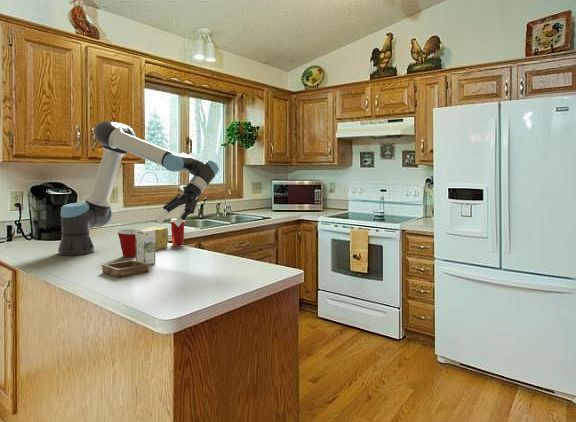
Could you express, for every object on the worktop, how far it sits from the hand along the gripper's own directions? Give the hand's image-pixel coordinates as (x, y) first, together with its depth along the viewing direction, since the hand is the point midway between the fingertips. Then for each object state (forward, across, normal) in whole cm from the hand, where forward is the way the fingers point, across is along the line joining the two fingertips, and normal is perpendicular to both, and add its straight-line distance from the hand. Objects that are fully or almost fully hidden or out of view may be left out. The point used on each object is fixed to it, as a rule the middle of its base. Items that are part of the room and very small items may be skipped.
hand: (167, 223), depth 172 cm
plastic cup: (+16, +20, -7) cm, 27 cm away
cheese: (+2, +33, -21) cm, 40 cm away
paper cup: (-7, +31, -31) cm, 44 cm away
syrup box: (+19, 0, -4) cm, 19 cm away
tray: (+28, -8, +5) cm, 29 cm away
